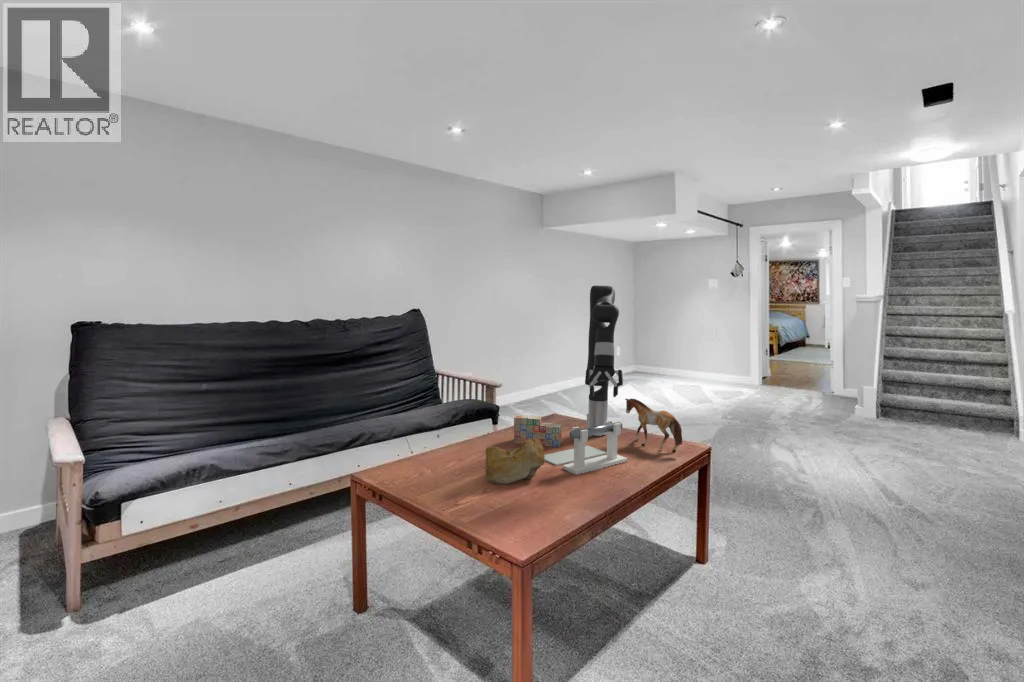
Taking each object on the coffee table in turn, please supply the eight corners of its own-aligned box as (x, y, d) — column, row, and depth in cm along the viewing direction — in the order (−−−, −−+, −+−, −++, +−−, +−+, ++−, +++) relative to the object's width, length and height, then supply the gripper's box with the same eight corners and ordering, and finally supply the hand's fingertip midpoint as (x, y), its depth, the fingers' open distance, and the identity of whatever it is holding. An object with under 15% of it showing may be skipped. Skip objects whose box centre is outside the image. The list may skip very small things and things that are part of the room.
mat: (538, 457, 219) (538, 456, 219) (587, 446, 234) (587, 445, 234) (556, 465, 209) (556, 464, 209) (606, 453, 224) (606, 452, 224)
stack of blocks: (561, 443, 239) (562, 417, 238) (558, 447, 233) (559, 420, 232) (517, 439, 246) (517, 413, 244) (513, 442, 240) (513, 416, 238)
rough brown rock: (532, 468, 208) (530, 431, 208) (549, 479, 193) (547, 439, 192) (476, 477, 200) (474, 438, 200) (489, 489, 185) (487, 447, 184)
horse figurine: (622, 440, 245) (623, 397, 242) (632, 437, 249) (633, 395, 247) (680, 457, 221) (682, 410, 218) (690, 454, 225) (692, 407, 223)
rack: (562, 468, 206) (563, 428, 204) (613, 456, 221) (614, 418, 219) (576, 474, 199) (577, 433, 197) (627, 461, 215) (628, 422, 213)
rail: (574, 440, 200) (575, 432, 200) (569, 437, 203) (569, 430, 202) (622, 430, 215) (622, 422, 214) (616, 428, 217) (617, 420, 217)
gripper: (624, 356, 202) (623, 397, 200) (588, 356, 208) (587, 396, 205) (621, 353, 195) (620, 396, 193) (584, 353, 201) (583, 395, 198)
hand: (603, 396), depth 199 cm, fingers open, 8 cm apart
